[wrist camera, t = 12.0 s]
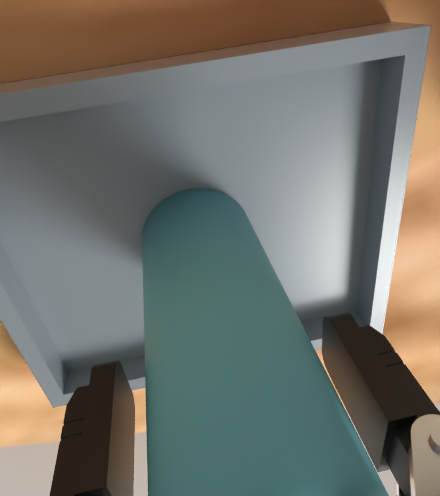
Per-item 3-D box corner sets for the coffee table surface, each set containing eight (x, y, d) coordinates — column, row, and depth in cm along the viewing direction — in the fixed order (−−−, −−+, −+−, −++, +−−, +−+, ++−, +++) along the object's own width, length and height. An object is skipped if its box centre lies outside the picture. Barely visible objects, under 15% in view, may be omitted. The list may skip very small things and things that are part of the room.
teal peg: (245, 178, 17) (407, 448, 7) (254, 270, 19) (378, 556, 9) (129, 200, 16) (118, 523, 6) (155, 291, 19) (176, 613, 9)
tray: (391, 21, 15) (431, 25, 13) (361, 305, 23) (382, 335, 21) (-84, 97, 14) (-124, 114, 12) (61, 369, 22) (53, 407, 20)
